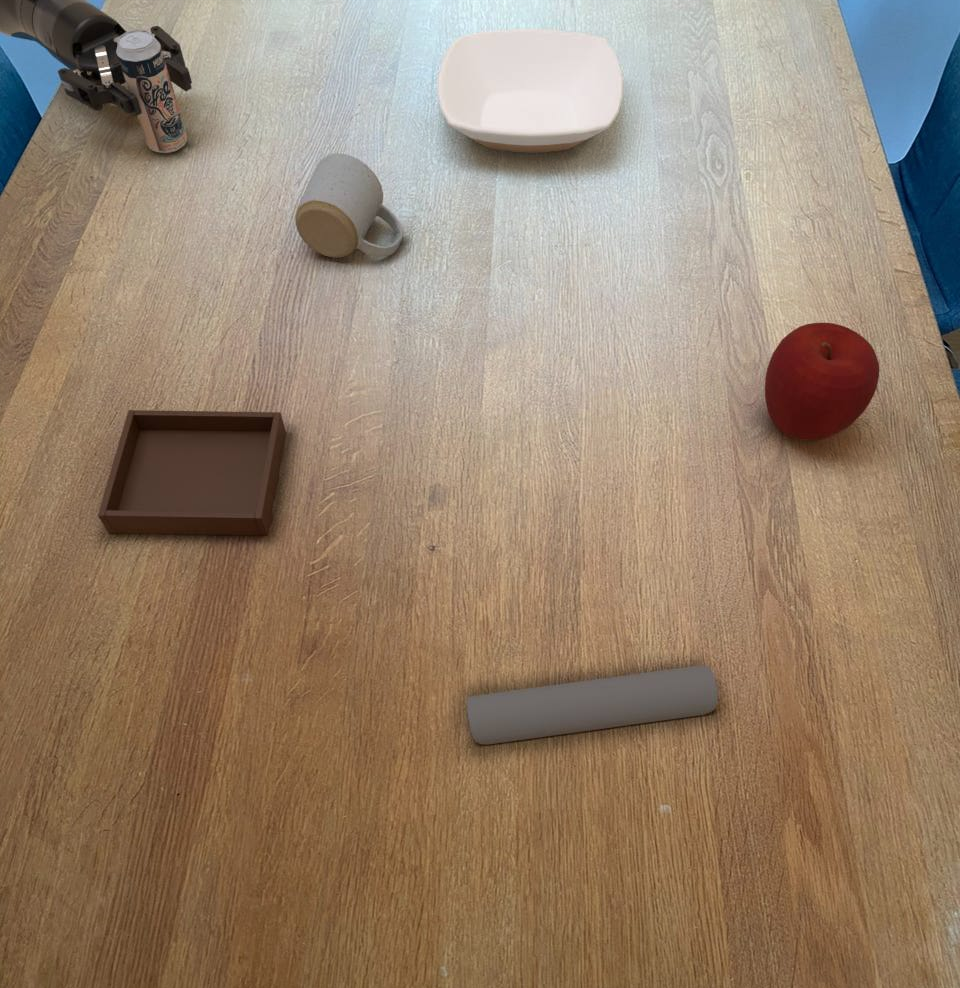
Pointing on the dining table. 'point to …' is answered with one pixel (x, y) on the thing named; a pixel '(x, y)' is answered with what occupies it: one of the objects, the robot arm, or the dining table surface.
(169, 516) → the serving tray
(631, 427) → the dining table surface
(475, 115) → the bowl
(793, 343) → the apple
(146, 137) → the beer can
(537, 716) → the half round rod
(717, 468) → the dining table surface
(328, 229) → the ceramic mug
